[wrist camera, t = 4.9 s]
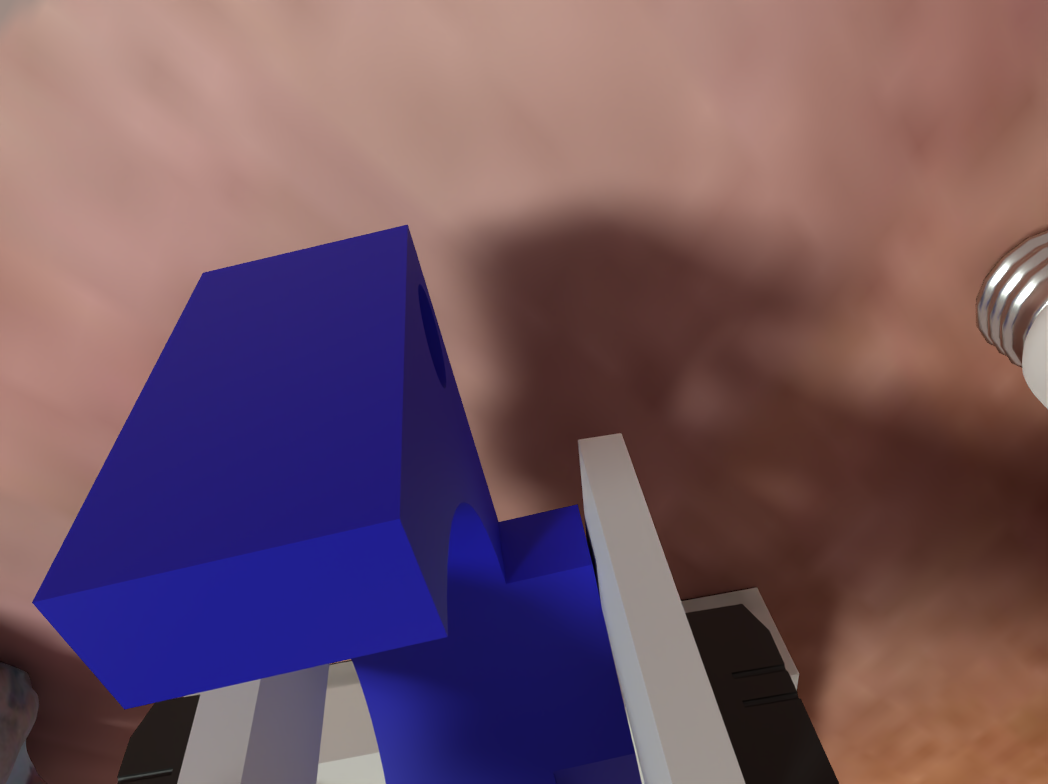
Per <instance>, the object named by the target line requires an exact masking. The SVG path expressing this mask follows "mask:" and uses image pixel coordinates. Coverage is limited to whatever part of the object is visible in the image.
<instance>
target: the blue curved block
mask: <svg viewBox="0 0 1048 784" xmlns="http://www.w3.org/2000/svg"><path fill="white" fill-rule="evenodd" d="M32 603H33V604H34V605H35V606H36V607H37V609H38V610H39V611H40V612H41V613H42V614H43V616H44V617H45V618H46V619H47V620H48V621H49V623H50V624H51V625H52V626H53V627H54V628H55V629H56V631H57V632H58V633H59V634H60V635H61V636H62V638H63V639H64V640H65V641H66V642H67V643H68V645H69V646H70V647H71V648H72V649H73V650H74V651H75V653H76V654H77V655H78V656H79V657H80V658H81V660H82V661H83V662H84V663H85V664H86V665H87V667H88V668H89V669H90V670H91V671H92V672H93V673H94V675H95V676H96V677H97V678H98V679H99V680H100V682H101V683H102V684H103V685H104V686H105V687H106V689H107V690H108V691H109V692H110V693H111V694H112V695H113V697H114V698H115V699H116V700H117V701H118V702H119V704H120V705H121V706H122V707H123V708H124V709H129V708H133V707H138V706H142V705H147V704H151V703H155V702H160V701H164V700H169V699H173V698H178V697H182V696H187V695H191V694H196V693H200V692H204V691H209V690H213V689H218V688H222V687H227V686H231V685H236V684H240V683H245V682H249V681H254V680H258V679H262V678H267V677H271V676H276V675H280V674H285V673H289V672H294V671H298V670H303V669H307V668H311V667H316V666H320V665H325V664H329V663H334V662H338V661H343V660H347V659H351V660H352V662H353V665H354V667H355V670H356V672H357V675H358V678H359V681H360V684H361V687H362V690H363V693H364V696H365V700H366V703H367V706H368V710H369V713H370V717H371V720H372V724H373V728H374V732H375V736H376V740H377V744H378V749H379V753H380V758H381V762H382V767H383V772H384V777H385V782H386V784H642V782H641V777H640V772H639V768H638V763H637V758H636V754H635V749H634V745H633V741H632V737H631V732H630V728H629V724H628V719H627V715H626V711H625V706H624V702H623V698H622V693H621V689H620V685H619V680H618V676H617V672H616V667H615V663H614V659H613V654H612V650H611V645H610V641H609V637H608V632H607V628H606V624H605V620H604V615H603V611H602V607H601V601H600V596H599V592H598V587H597V583H596V578H595V574H594V569H593V565H592V561H591V557H590V553H589V548H588V544H587V540H586V536H585V532H584V528H583V524H582V520H581V516H580V512H579V508H578V504H577V505H572V506H568V507H564V508H559V509H555V510H550V511H546V512H542V513H537V514H533V515H528V516H524V517H520V518H515V519H511V520H506V521H502V522H498V519H497V515H496V512H495V509H494V506H493V502H492V499H491V496H490V492H489V489H488V486H487V483H486V479H485V476H484V473H483V470H482V466H481V463H480V460H479V456H478V453H477V450H476V447H475V443H474V440H473V437H472V433H471V430H470V427H469V424H468V420H467V417H466V414H465V411H464V407H463V404H462V401H461V397H460V394H459V391H458V388H457V384H456V381H455V378H454V375H453V371H452V368H451V365H450V361H449V358H448V355H447V352H446V348H445V345H444V342H443V339H442V335H441V332H440V329H439V325H438V322H437V319H436V316H435V312H434V309H433V306H432V303H431V299H430V296H429V293H428V289H427V286H426V283H425V280H424V276H423V273H422V270H421V267H420V263H419V260H418V257H417V253H416V250H415V247H414V244H413V240H412V237H411V234H410V231H409V227H408V225H404V226H400V227H396V228H391V229H387V230H383V231H379V232H374V233H370V234H366V235H362V236H357V237H353V238H349V239H345V240H340V241H336V242H332V243H328V244H324V245H319V246H315V247H311V248H307V249H302V250H298V251H294V252H290V253H285V254H281V255H277V256H273V257H268V258H264V259H260V260H256V261H251V262H247V263H243V264H239V265H234V266H230V267H226V268H222V269H218V270H213V271H209V272H205V273H203V274H202V276H201V278H200V280H199V282H198V283H197V285H196V287H195V289H194V291H193V293H192V295H191V297H190V299H189V301H188V303H187V305H186V307H185V309H184V310H183V312H182V314H181V316H180V318H179V320H178V322H177V324H176V326H175V328H174V330H173V332H172V334H171V336H170V338H169V339H168V341H167V343H166V345H165V347H164V349H163V351H162V353H161V355H160V357H159V359H158V361H157V363H156V365H155V366H154V368H153V370H152V372H151V374H150V376H149V378H148V380H147V382H146V384H145V386H144V388H143V390H142V392H141V393H140V395H139V397H138V399H137V401H136V403H135V405H134V407H133V409H132V411H131V413H130V415H129V417H128V419H127V420H126V422H125V424H124V426H123V428H122V430H121V432H120V434H119V436H118V438H117V440H116V442H115V444H114V446H113V448H112V449H111V451H110V453H109V455H108V457H107V459H106V461H105V463H104V465H103V467H102V469H101V471H100V473H99V475H98V476H97V478H96V480H95V482H94V484H93V486H92V488H91V490H90V492H89V494H88V496H87V498H86V500H85V502H84V503H83V505H82V507H81V509H80V511H79V513H78V515H77V517H76V519H75V521H74V523H73V525H72V527H71V529H70V531H69V532H68V534H67V536H66V538H65V540H64V542H63V544H62V546H61V548H60V550H59V552H58V554H57V556H56V558H55V559H54V561H53V563H52V565H51V567H50V569H49V571H48V573H47V575H46V577H45V579H44V581H43V583H42V585H41V586H40V588H39V590H38V592H37V594H36V596H35V598H34V600H33V602H32Z"/></svg>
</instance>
